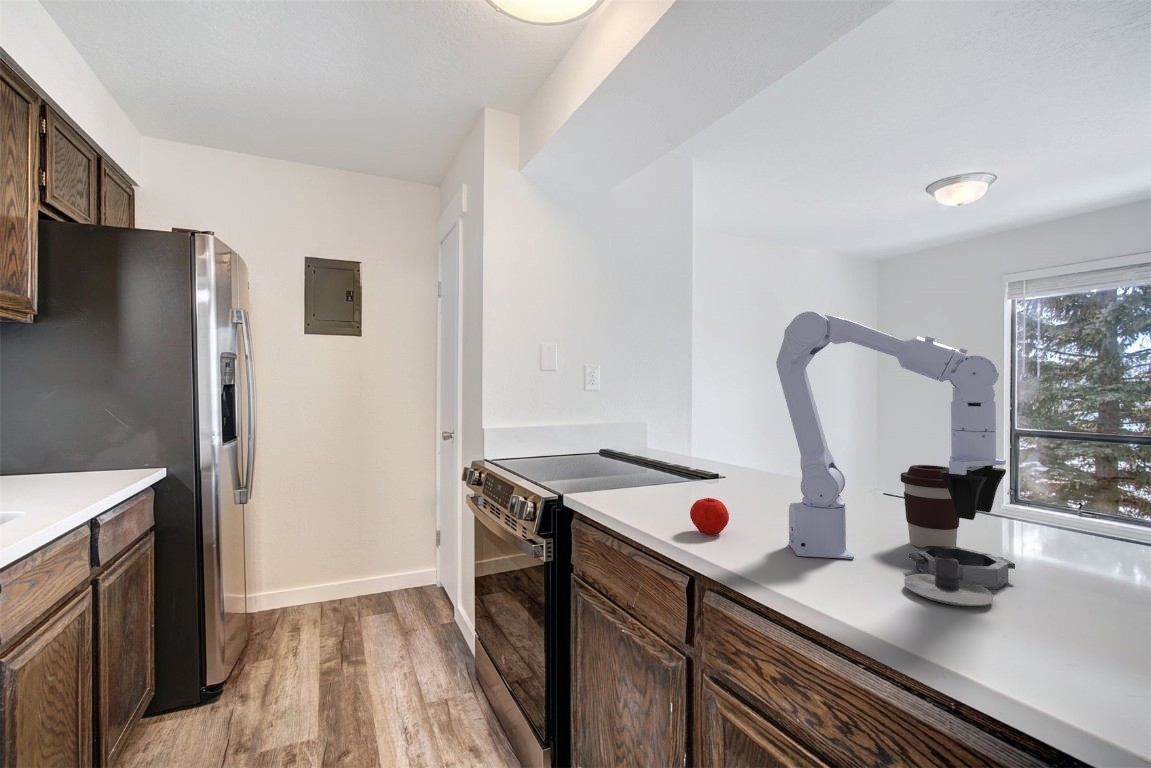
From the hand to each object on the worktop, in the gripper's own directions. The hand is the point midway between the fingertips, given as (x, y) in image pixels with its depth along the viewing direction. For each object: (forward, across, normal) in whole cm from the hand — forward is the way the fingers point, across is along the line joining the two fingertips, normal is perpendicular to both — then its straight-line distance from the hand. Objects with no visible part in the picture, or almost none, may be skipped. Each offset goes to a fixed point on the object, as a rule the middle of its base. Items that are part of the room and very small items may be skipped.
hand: (974, 514), depth 82 cm
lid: (+10, -13, 0) cm, 16 cm away
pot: (+10, -2, +1) cm, 10 cm away
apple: (+10, -15, +41) cm, 45 cm away
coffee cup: (+10, +12, +10) cm, 18 cm away
